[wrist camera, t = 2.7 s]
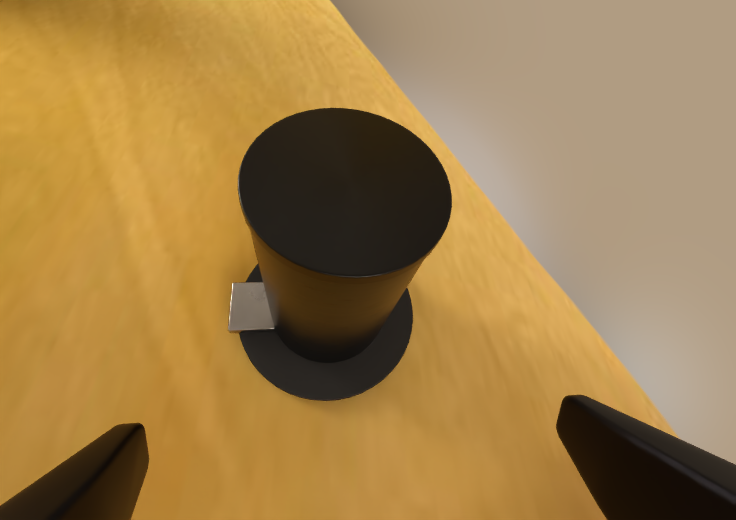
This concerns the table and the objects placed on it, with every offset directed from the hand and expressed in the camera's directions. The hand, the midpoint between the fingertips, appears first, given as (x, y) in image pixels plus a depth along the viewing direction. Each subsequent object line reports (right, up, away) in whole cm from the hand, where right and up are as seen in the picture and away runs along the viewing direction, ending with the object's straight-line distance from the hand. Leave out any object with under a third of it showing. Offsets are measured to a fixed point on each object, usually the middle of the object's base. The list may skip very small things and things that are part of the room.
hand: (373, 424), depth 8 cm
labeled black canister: (-4, +1, +15) cm, 15 cm away
